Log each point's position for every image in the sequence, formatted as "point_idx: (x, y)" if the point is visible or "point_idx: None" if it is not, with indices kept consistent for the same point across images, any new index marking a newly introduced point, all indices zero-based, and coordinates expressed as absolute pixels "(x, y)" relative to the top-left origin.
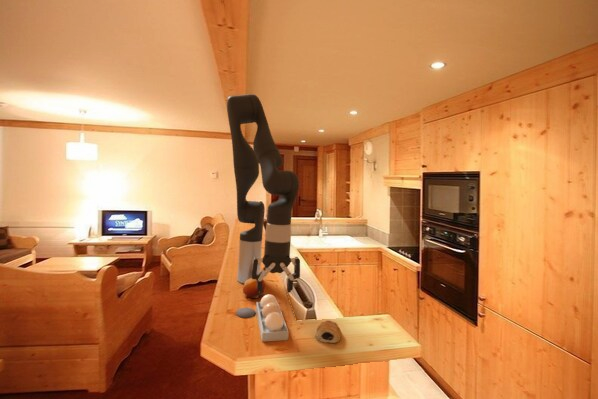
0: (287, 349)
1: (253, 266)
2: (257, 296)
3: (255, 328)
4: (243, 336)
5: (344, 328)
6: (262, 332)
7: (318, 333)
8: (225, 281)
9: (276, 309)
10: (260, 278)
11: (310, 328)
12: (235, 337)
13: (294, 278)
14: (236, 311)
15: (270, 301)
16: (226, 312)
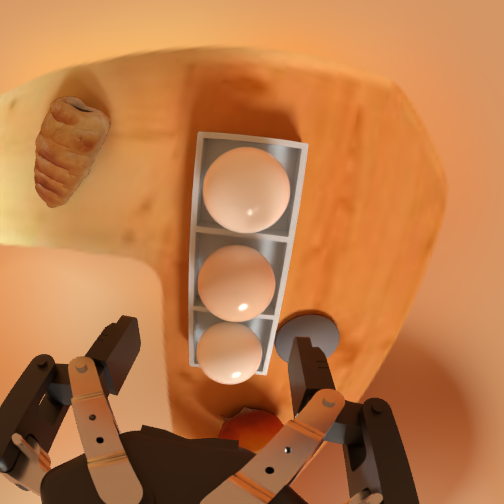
0: (225, 79)
1: (409, 475)
2: (245, 410)
3: (303, 237)
4: (356, 195)
5: (29, 185)
6: (307, 146)
7: (96, 118)
8: None
9: (216, 267)
10: (328, 405)
11: (108, 198)
12: (380, 196)
13: (69, 366)
14: (335, 348)
15: (226, 343)
16: (360, 349)
